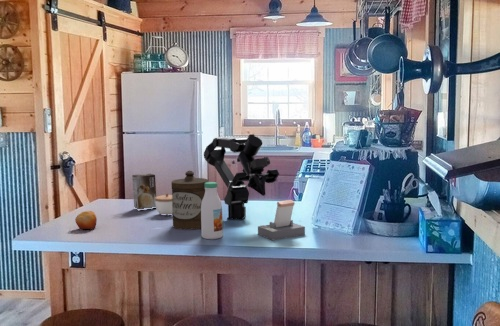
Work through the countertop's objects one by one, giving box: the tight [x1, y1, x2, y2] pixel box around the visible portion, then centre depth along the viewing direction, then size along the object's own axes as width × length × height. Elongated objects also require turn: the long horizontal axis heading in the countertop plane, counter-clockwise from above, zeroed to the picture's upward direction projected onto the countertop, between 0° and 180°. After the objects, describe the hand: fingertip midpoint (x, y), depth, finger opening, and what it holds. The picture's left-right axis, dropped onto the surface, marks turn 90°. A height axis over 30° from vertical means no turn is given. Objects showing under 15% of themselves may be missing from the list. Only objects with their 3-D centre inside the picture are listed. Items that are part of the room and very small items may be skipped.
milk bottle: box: [200, 181, 224, 240], centre depth 195 cm, size 8×8×20 cm
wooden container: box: [171, 170, 209, 230], centre depth 213 cm, size 15×15×22 cm
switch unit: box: [257, 219, 306, 241], centre depth 197 cm, size 10×14×5 cm
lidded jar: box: [155, 192, 172, 215], centre depth 236 cm, size 11×11×9 cm
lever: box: [273, 199, 295, 228], centre depth 195 cm, size 2×6×10 cm, turn 120°
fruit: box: [75, 210, 98, 230], centre depth 212 cm, size 8×8×8 cm
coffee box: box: [131, 173, 157, 209], centre depth 248 cm, size 9×6×16 cm
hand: (264, 194), depth 206 cm, fingers closed
